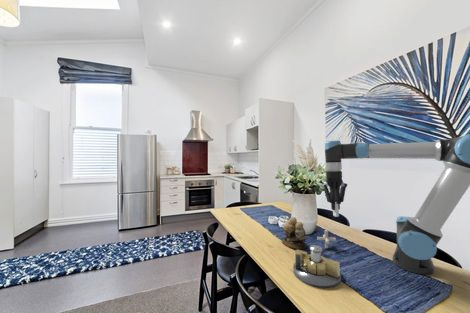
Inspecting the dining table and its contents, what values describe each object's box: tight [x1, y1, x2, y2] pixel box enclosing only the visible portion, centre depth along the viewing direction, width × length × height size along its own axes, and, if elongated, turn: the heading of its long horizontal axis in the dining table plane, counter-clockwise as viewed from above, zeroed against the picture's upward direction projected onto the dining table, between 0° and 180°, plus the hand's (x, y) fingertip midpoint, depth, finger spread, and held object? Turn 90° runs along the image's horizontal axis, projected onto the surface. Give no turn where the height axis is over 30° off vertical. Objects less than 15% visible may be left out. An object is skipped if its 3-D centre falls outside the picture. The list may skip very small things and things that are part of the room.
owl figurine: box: [281, 216, 308, 251], centre depth 124 cm, size 18×12×17 cm, turn 29°
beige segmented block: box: [294, 249, 341, 277], centre depth 93 cm, size 19×10×6 cm, turn 48°
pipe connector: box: [316, 229, 337, 249], centre depth 120 cm, size 10×10×10 cm
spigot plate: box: [292, 244, 342, 289], centre depth 93 cm, size 20×20×12 cm
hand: (336, 216), depth 106 cm, fingers closed
